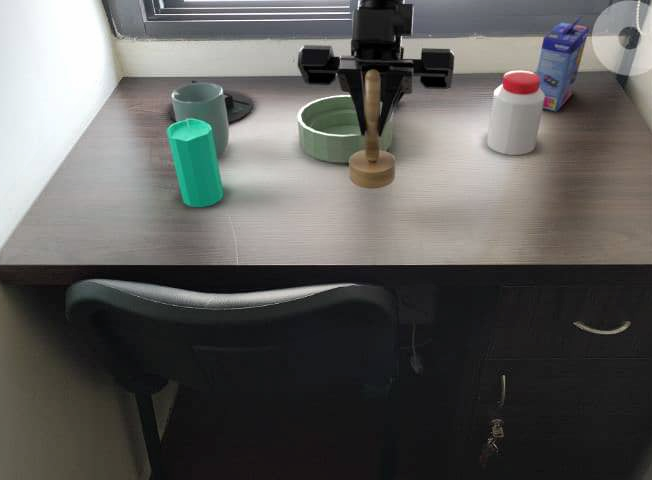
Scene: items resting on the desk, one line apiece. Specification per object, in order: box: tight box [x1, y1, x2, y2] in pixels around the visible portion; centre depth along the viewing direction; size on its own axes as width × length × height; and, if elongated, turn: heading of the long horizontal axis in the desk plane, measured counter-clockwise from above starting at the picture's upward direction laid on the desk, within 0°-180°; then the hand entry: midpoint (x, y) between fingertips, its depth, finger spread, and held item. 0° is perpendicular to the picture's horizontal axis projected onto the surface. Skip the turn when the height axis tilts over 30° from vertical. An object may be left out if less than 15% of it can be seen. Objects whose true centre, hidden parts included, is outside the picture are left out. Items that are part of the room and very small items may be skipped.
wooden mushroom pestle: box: [348, 69, 396, 190], centre depth 75 cm, size 6×6×14 cm
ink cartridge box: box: [535, 15, 590, 113], centre depth 106 cm, size 10×6×14 cm, turn 148°
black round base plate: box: [169, 80, 254, 125], centre depth 109 cm, size 15×15×6 cm
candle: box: [166, 118, 225, 208], centre depth 84 cm, size 6×6×12 cm
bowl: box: [296, 94, 394, 164], centre depth 98 cm, size 15×15×5 cm
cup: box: [171, 82, 230, 157], centre depth 95 cm, size 8×8×10 cm
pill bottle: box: [486, 69, 545, 156], centre depth 95 cm, size 8×8×11 cm
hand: (371, 135), depth 74 cm, fingers closed on wooden mushroom pestle
